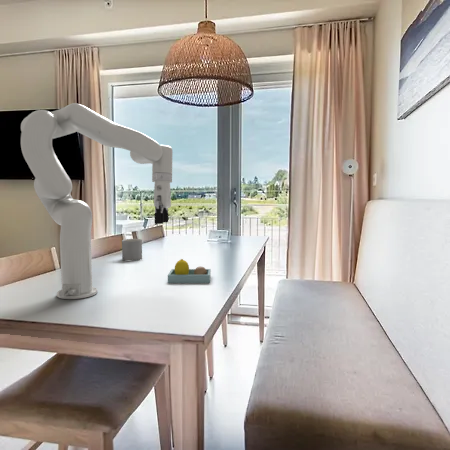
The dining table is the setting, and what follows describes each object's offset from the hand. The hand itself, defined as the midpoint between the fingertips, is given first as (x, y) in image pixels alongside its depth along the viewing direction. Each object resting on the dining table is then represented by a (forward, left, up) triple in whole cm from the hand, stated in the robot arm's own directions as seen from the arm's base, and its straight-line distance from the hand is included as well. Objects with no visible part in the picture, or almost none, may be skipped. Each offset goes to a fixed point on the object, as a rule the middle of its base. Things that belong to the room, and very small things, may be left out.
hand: (161, 222), depth 142 cm
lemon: (-2, -8, -22) cm, 23 cm away
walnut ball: (-2, -15, -22) cm, 26 cm away
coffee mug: (+48, +23, -23) cm, 58 cm away
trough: (-2, -11, -22) cm, 25 cm away
